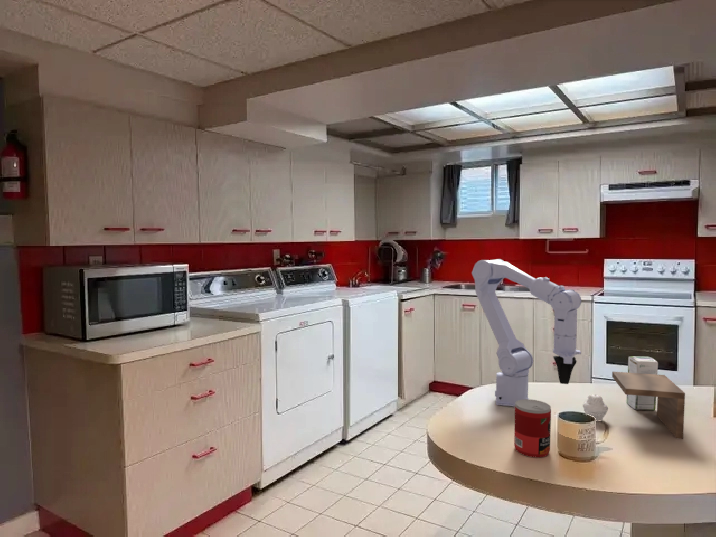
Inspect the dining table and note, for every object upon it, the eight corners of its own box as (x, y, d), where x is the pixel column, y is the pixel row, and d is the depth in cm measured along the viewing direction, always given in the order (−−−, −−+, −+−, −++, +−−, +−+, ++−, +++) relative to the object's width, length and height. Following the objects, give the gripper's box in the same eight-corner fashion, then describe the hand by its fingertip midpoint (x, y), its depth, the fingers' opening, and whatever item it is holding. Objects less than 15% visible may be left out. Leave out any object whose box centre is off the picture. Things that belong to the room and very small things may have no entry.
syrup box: (646, 403, 146) (648, 355, 145) (656, 411, 140) (658, 360, 139) (626, 403, 146) (627, 355, 145) (635, 410, 140) (637, 360, 139)
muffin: (584, 422, 132) (585, 397, 131) (580, 414, 137) (581, 389, 137) (609, 424, 130) (610, 398, 129) (604, 416, 136) (605, 391, 135)
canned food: (546, 461, 109) (547, 413, 109) (510, 453, 114) (510, 406, 113) (553, 448, 116) (554, 402, 115) (518, 441, 120) (519, 397, 119)
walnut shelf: (624, 433, 124) (625, 388, 124) (611, 411, 140) (612, 371, 139) (683, 438, 121) (685, 393, 120) (662, 415, 136) (664, 374, 135)
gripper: (585, 340, 126) (584, 392, 127) (577, 330, 140) (576, 376, 141) (556, 339, 128) (554, 390, 129) (550, 328, 142) (549, 375, 143)
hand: (564, 383), depth 135 cm, fingers closed
